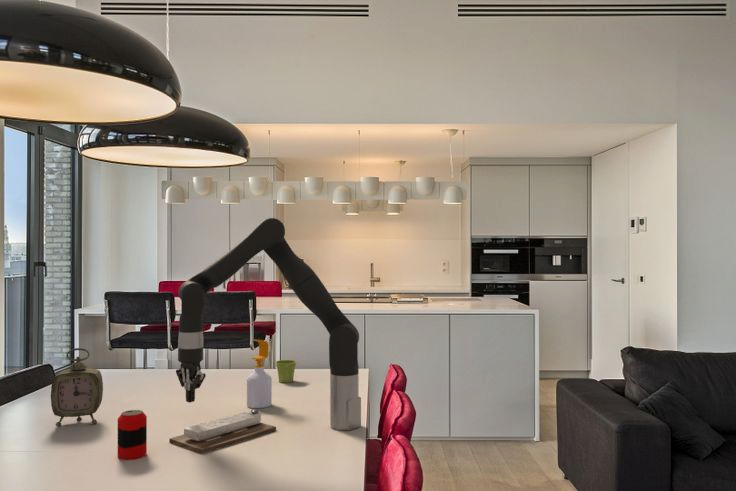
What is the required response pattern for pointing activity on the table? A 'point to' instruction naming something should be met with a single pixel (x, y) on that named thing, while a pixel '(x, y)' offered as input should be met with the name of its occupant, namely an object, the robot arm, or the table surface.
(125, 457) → the soda can
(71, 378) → the tabletop clock
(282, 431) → the table surface
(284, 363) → the plant pot
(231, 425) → the swing arm
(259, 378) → the soap bottle
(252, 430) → the label panel
